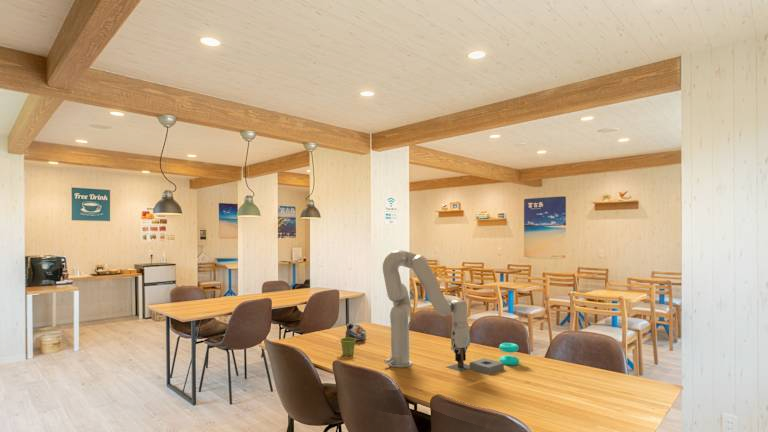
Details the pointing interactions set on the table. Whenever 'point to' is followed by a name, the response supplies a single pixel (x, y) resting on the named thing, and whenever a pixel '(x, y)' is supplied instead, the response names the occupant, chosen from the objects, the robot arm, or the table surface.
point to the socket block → (486, 366)
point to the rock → (355, 332)
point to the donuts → (509, 359)
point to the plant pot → (348, 346)
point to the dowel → (461, 364)
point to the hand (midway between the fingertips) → (460, 360)
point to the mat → (455, 367)
